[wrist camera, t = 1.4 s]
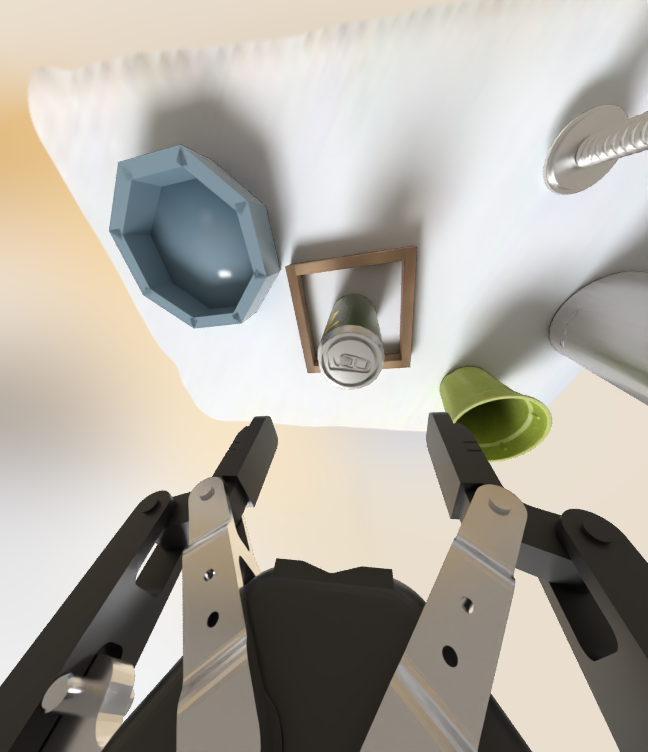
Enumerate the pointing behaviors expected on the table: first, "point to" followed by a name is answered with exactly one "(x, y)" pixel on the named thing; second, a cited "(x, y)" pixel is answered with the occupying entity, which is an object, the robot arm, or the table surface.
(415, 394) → the table surface
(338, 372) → the beer can
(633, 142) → the screw
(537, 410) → the plant pot
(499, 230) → the table surface
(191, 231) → the slate bowl
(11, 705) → the robot arm
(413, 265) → the walnut frame
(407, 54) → the table surface
